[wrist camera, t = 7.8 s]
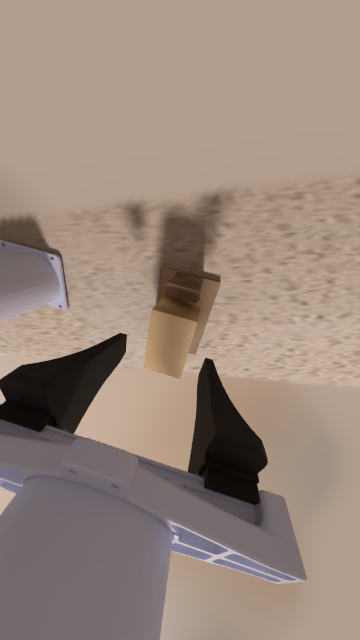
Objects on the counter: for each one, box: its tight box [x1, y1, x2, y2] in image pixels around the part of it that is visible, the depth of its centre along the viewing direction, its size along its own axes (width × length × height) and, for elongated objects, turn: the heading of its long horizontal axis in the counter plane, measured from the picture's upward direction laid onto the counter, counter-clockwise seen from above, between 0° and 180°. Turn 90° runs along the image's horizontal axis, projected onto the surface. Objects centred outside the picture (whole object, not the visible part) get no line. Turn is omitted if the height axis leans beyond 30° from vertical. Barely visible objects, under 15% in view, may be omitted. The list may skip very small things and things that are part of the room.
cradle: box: [156, 267, 220, 354], centre depth 19 cm, size 7×11×6 cm, turn 168°
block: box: [144, 295, 202, 378], centre depth 17 cm, size 4×7×5 cm, turn 168°
